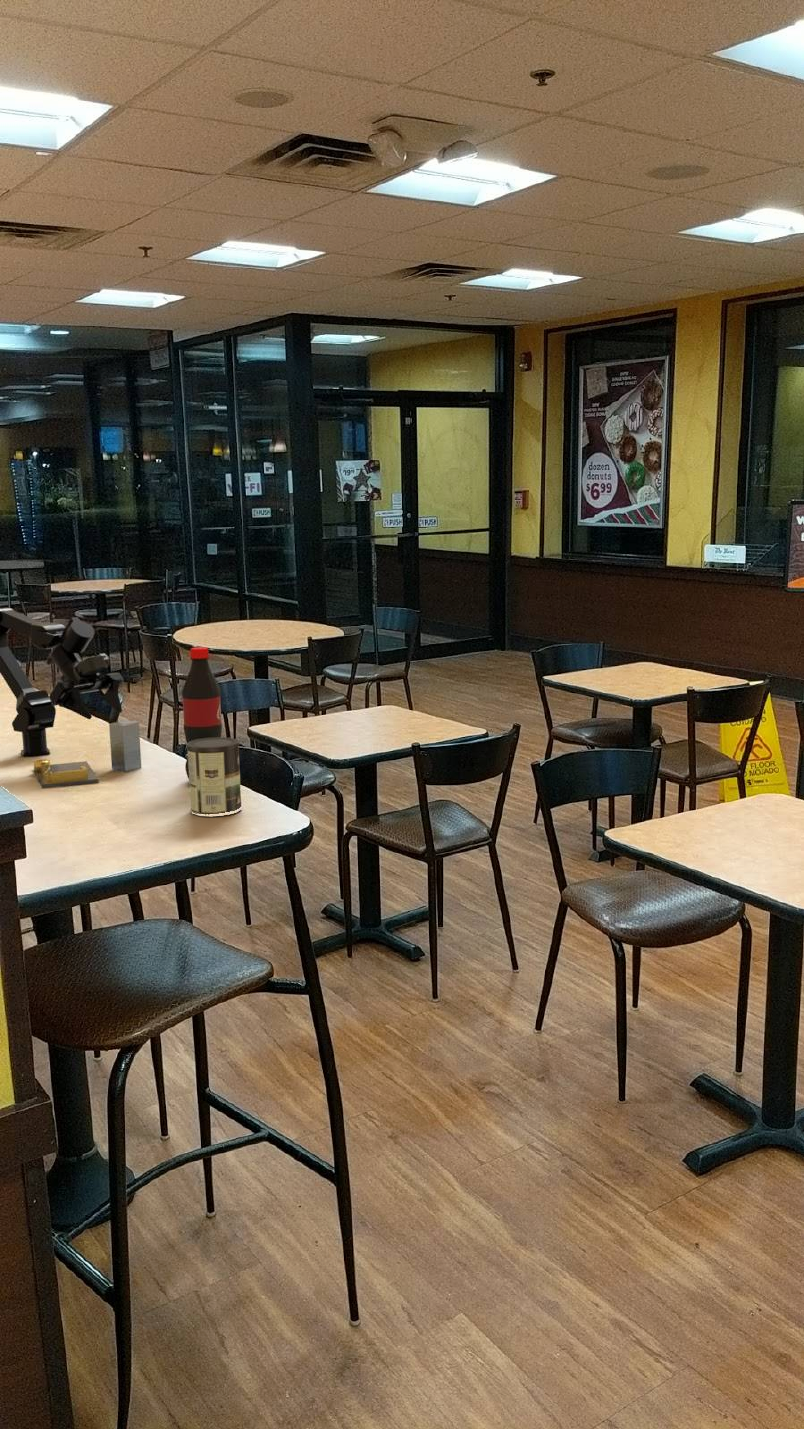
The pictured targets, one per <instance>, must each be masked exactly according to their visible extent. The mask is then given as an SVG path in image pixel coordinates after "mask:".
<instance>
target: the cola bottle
mask: <svg viewBox="0 0 804 1429" xmlns="http://www.w3.org/2000/svg"><path fill="white" fill-rule="evenodd" d="M209 651H210V650H209V648H208V647H204V646H199V647H192V648H190V651H189V657H190V658H189V659H190V660H191V664H190V669H189V671H188V674H187V676H186V678H185V682H184V684H183V688H182V691H181V696H182V707H183V712H182V713H183V733H184V738H185V742H186V744H187V743H188V742H190V741H193V740H197V739H203V738H214V737H222V732H223V723H222V707H221V706H222V705H221V693H222V692H221V688H220V686H219V685H220V684H218V681H217V679H216V676H215V675H214V673H213V671H212V670H211V668H210V664H209V659H210V653H209ZM186 757H187V758H186V760H185V767H184V768H185V772H186V777H187V779H188V780H189V766H188V756H186Z"/></svg>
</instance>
